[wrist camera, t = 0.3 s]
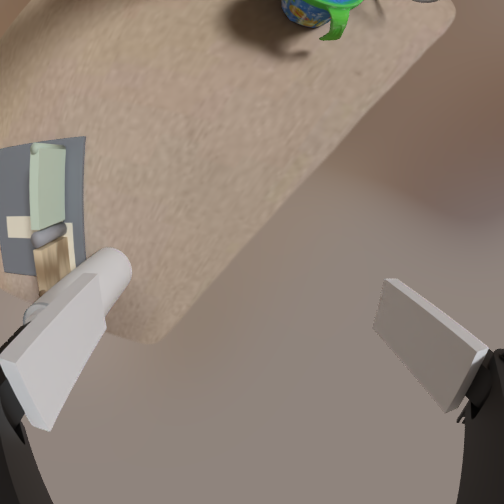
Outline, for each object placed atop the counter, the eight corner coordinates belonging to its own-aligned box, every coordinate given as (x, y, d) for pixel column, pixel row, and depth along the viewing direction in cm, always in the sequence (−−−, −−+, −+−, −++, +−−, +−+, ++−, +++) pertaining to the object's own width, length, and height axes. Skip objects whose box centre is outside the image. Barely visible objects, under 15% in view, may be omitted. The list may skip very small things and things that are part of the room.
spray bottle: (89, 283, 38) (-3, 388, 14) (94, 242, 37) (-19, 327, 13) (129, 295, 40) (58, 419, 16) (135, 253, 38) (46, 360, 14)
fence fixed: (59, 236, 35) (31, 250, 28) (67, 236, 36) (40, 251, 28) (64, 278, 37) (39, 299, 30) (72, 279, 37) (48, 300, 30)
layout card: (-1, 149, 30) (-3, 149, 30) (85, 136, 32) (83, 136, 32) (6, 271, 36) (4, 272, 35) (88, 279, 38) (86, 281, 38)
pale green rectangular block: (56, 145, 31) (28, 143, 24) (67, 144, 31) (40, 141, 25) (56, 235, 35) (30, 248, 28) (67, 235, 35) (41, 248, 28)
